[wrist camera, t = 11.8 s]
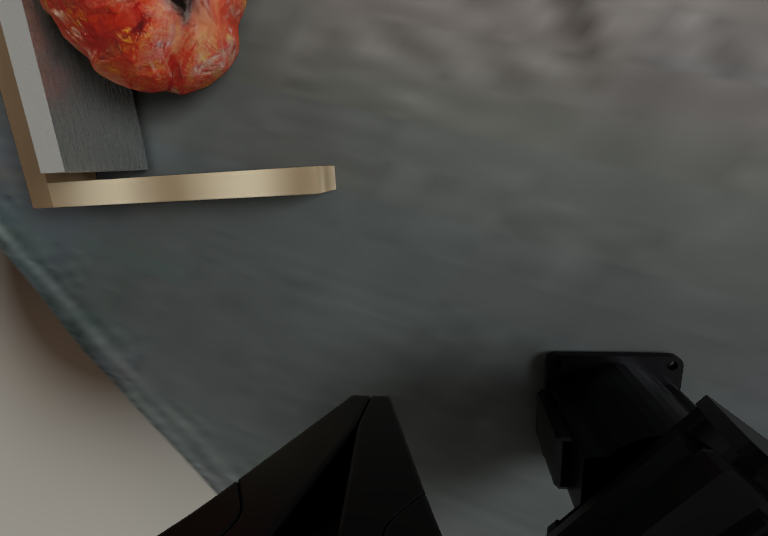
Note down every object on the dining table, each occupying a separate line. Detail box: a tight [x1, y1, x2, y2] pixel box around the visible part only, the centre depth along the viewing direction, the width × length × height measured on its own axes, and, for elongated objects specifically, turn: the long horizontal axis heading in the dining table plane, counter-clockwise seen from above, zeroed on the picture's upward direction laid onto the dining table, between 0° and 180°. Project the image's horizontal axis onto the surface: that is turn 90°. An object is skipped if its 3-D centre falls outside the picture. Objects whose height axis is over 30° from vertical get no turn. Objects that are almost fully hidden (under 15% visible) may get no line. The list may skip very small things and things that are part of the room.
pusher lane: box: [0, 22, 336, 208], centre depth 19 cm, size 15×13×3 cm
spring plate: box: [0, 0, 148, 173], centre depth 18 cm, size 1×10×5 cm, turn 3°
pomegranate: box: [39, 0, 247, 95], centre depth 17 cm, size 7×7×10 cm
